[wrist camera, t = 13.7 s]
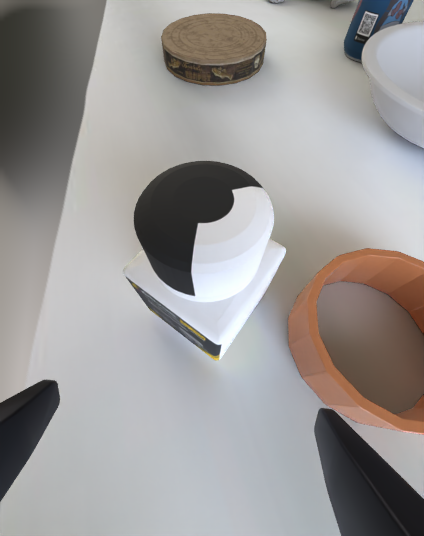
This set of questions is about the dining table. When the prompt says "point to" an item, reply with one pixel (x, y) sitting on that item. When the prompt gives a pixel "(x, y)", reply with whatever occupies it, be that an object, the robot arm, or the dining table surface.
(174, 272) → the medicine bottle
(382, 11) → the soda can
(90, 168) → the dining table surface
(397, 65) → the soup bowl
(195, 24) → the brown round flat disc
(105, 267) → the dining table surface
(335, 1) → the seahorse
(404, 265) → the terracotta pot
